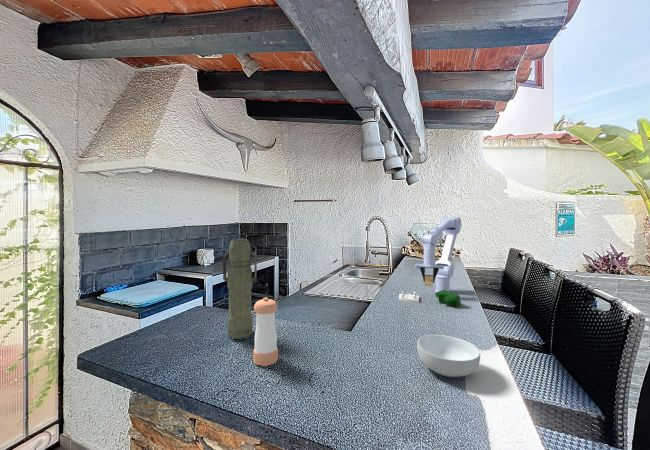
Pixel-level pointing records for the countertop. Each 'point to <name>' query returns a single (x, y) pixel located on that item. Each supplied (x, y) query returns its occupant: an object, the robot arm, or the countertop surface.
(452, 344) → the cereal bowl
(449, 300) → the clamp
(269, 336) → the pepper shaker
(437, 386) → the countertop surface
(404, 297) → the plate
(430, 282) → the block
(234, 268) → the thermos
